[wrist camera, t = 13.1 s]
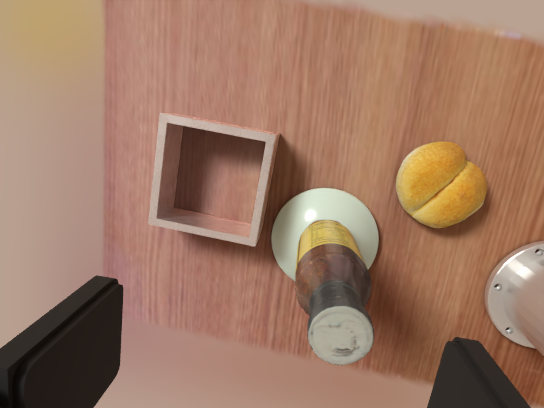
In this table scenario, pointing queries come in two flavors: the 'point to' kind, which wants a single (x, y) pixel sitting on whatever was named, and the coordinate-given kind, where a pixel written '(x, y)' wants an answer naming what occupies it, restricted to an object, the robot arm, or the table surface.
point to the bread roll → (440, 185)
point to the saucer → (322, 207)
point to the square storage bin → (168, 171)
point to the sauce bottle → (334, 292)
